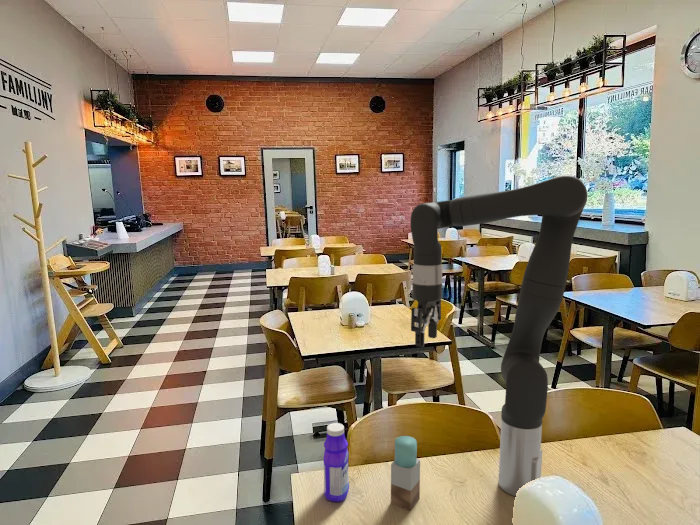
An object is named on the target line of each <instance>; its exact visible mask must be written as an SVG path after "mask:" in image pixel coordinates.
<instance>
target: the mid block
mask: <svg viewBox="0 0 700 525" xmlns="http://www.w3.org/2000/svg"><path fill="white" fill-rule="evenodd" d="M419 480H420V481H421V459H419V458H417V463H416V465H415V466H413V467H410V468H403V467H400V466H398V465H396V463H395V459H394V460H393V461H392V462H391V463H390V485H391V484H393V485H396V486H398V487H401V488H404V489H407V490H410V491H411V490H412V489H413V488H414V486H415V485H416V484H417V483H418V481H419Z"/></svg>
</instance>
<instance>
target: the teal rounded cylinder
mask: <svg viewBox="0 0 700 525" xmlns="http://www.w3.org/2000/svg"><path fill="white" fill-rule="evenodd" d="M417 449H418V441H417V440H416V439H415V437H412V436H410V435H400V436H397V437H396V438H395V439H394V460H395V463H396V465H398V466H400V467H403V468H410V467H413V466H415V465H416V463H417V459H418V458H417V455H418V453H417V452H418V450H417Z"/></svg>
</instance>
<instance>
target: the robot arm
mask: <svg viewBox="0 0 700 525" xmlns="http://www.w3.org/2000/svg"><path fill="white" fill-rule="evenodd" d="M587 201H588V191H587V187H586V186H585V184H584V182H583V181H582V180H581V179H579V177H576V176H573V175H572V174H560V175H556V176H554V177H552V178H550V179H547V180H543V181H540V182H538V183H535V184H532V185H531V184H530V185H528V186H524V187H519V188H513V189H510V190H509V189H508V190H504V191H503V190H501V191H496V192H489V193H488V192H487V193H478V194H472V195H468V196H461V197H458V198H457V197H456V198H454V199H452V200H451V199H449V200H441V201H434V202H425V203H424V202H423V203H420V204H418V205H416V206H415V207H414V208H413V210H412V211H411V214H410V232H411V238H412V243H413V266H412V267H413V268H412V282H411V283H412V285H411V286H412V289H411V291H412V293H411V294H412V299H413V300H415V301H416V302H417V307H412V308H411V315H410V316H411V317H410V331H411V332H414V333H415V335H414V336H415V337H414V339H415V341H414V344H415V346H416V347H419V348H424V347H425V331H426V327H427V328H428V329H427V330H428V331H427V333H428V334H427V336H428V338H429V339H430V338H431V339H436V338H437V337H438V324H439V321H441V319H442V298H443V296H442V295H443V268H442V267H443V266H442V258H443V257H442V254H443V253H442V249H443V248H442V245H441V243H440V242H439V235H438V230H441V229H444V228H450V227H466V226H467V227H468V226H474V225H482V224H489V223H492V222H496V221H501V220H506V219H511V218H517V217H526V216H542V218H541V223H540V230H539V234H538V237H537V239H536V242H535V244H534V247H533V249H532V251H531V253H530V256H529V259H528V261H527V264H526V267H525V270H524V274H523V277H522V282H521V284H520V285H521V286H520V290H519V296H518V301H517V306H516V309H515V310H516V311H515V316H514V321H513V322H514V323H513V327H512V332H511V335H510V338H509V340H508V343H507V347H506V349H505V352H504V355H503V357H502V360H501V363H500V364H501V366H500V372H501V377H502V379H503V381H504V382H505V397H504V398H505V400H504V404H503V405H502V406H501V416H500V417H501V418H500V437H499V438H500V444H499V462H498V485H499V488H500V489H502V491H504V493H507V494H509V495H510V496H513V497H516V496H515V495H516V493H517V491H518V490H519V488H521V487H522V486H523V485H525V484H526V483H528V482H530V481H532V480H535V479H537V478H540V477H541V478H542V468H543V467H542V464H543V450H542V447H541V446H542V434H543V433H542V432H543V431H542V430H543V429H542V428H543V419H544V416H545V414H546V412H547V411H546V410H547V400H548V389H549V388H548V386H549V385H548V384H549V381H548V379H549V378H548V374H547V371H546V369H545V368H544V367H543V365H542V363H540V356H541V350H542V345H543V344H542V343H543V340H544V336H545V333H546V332H547V329H548V328H549V326H550V324H551V323H552V321H553V319H555V317H556V315H557V313H558V312H559V310H560V307H561V305H562V302H563V298H564V293H565V290H566V286H567V280H568V276H569V275H568V274H569V268H570V262H571V253H572V244H573V241H574V240H573V239H574V236H575V233H576V231H577V230H576V229H577V226H578V224H579V221H580V218H581V216H582V213H583V211H584V209H585V207H586V204H587Z"/></svg>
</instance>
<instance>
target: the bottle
mask: <svg viewBox="0 0 700 525" xmlns="http://www.w3.org/2000/svg"><path fill="white" fill-rule="evenodd" d="M348 446H349V442H348V441H347V438H346V435H345V426H344V425H343V424H342V423H340V422H334V423H330V424H328V425H327V426H326V439H325V441H324V443H323V447H324V453H323V483H324V484H323V486H324V488H323V493H324V497H325V498H326V499H327V500H328V501H330V502H336V503H337V502H343V501H344V500H345V499H346V498H347V497H348V494H349V490H350V483H349V482H350V480H349V477H350V476H349V456H350V455H349V450H348Z"/></svg>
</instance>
